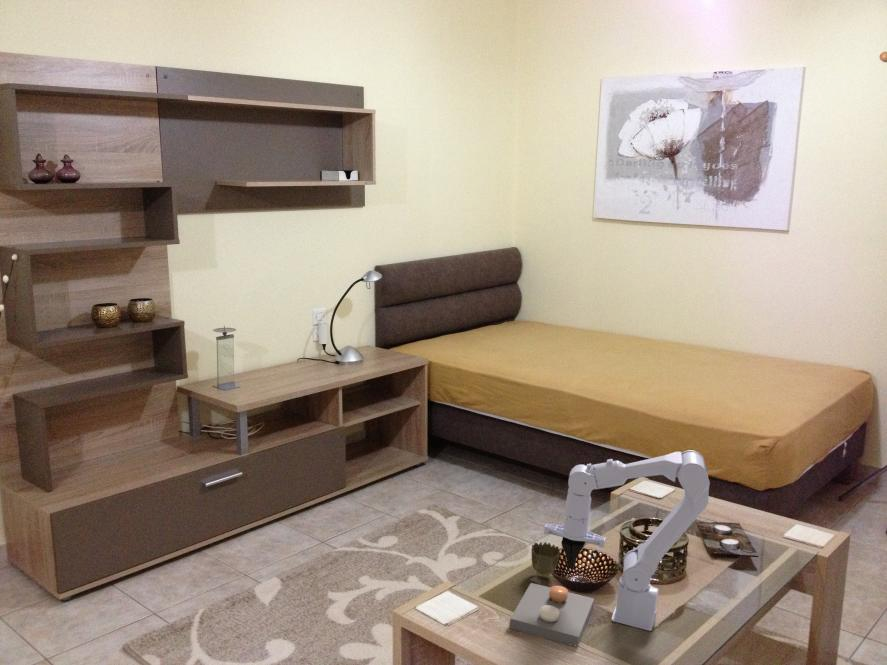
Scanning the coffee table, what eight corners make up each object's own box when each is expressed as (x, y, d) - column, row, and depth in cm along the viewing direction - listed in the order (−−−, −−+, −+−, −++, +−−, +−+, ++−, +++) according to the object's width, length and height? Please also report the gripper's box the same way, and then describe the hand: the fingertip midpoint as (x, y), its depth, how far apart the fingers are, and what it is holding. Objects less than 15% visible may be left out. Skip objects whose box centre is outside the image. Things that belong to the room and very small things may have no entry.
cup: (556, 585, 209) (559, 557, 207) (527, 581, 210) (530, 552, 209) (558, 571, 216) (561, 544, 214) (530, 567, 217) (533, 539, 216)
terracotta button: (568, 603, 199) (569, 588, 199) (564, 612, 195) (565, 597, 195) (550, 598, 201) (552, 584, 200) (546, 607, 197) (547, 592, 196)
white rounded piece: (559, 623, 191) (561, 608, 190) (554, 633, 187) (556, 617, 186) (541, 618, 193) (542, 603, 192) (536, 628, 189) (538, 612, 188)
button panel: (593, 607, 200) (594, 598, 199) (577, 646, 183) (578, 637, 183) (530, 591, 205) (531, 582, 205) (509, 628, 189) (510, 618, 188)
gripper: (610, 515, 196) (603, 566, 199) (551, 502, 201) (545, 552, 204) (605, 526, 190) (598, 580, 193) (544, 513, 195) (538, 565, 197)
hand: (570, 566), depth 198 cm, fingers closed
